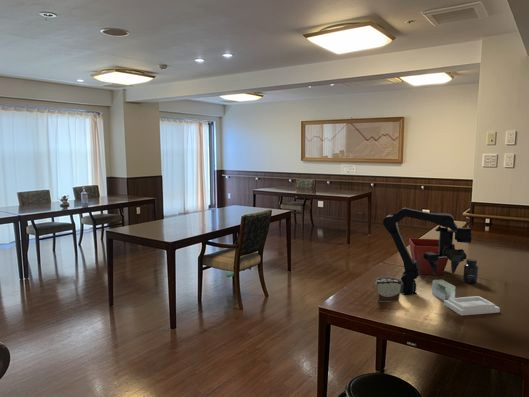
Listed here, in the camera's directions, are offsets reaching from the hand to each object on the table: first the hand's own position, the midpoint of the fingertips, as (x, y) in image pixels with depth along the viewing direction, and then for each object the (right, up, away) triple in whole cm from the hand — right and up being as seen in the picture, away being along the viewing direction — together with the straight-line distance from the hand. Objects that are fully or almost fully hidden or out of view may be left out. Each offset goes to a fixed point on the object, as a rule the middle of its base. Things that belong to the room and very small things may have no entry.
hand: (444, 273), depth 185 cm
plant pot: (+9, -7, +41) cm, 43 cm away
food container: (-27, -12, 0) cm, 29 cm away
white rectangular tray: (+6, -13, -12) cm, 19 cm away
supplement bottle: (+24, -9, +22) cm, 34 cm away
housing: (0, -11, +1) cm, 12 cm away
